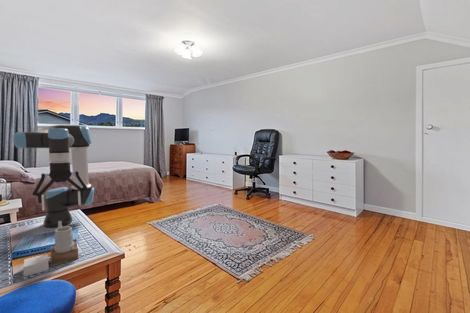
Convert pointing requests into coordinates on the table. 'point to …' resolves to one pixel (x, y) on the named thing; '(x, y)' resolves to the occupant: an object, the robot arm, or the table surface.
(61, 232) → the mug
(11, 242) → the table surface
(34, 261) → the grey block
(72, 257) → the walnut block
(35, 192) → the robot arm
